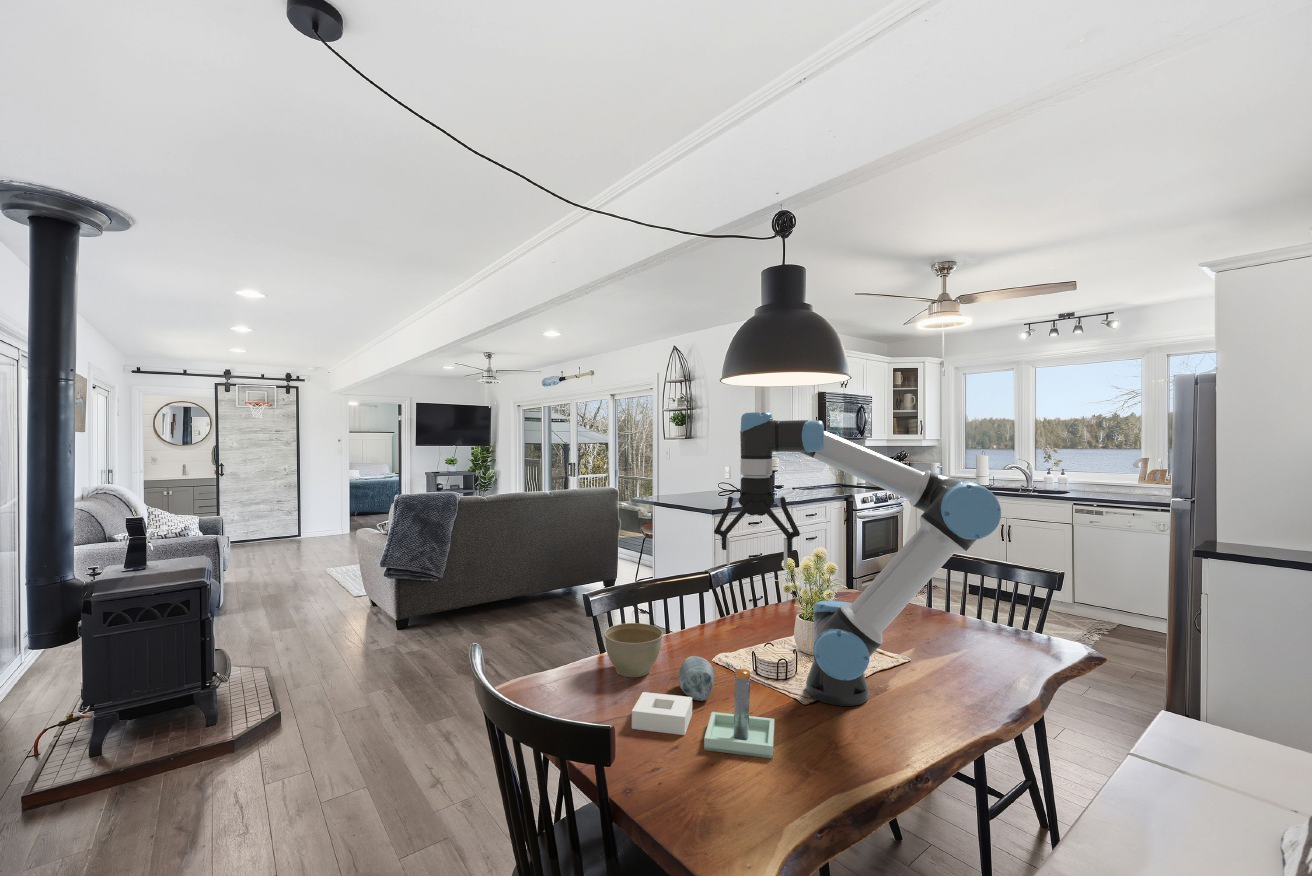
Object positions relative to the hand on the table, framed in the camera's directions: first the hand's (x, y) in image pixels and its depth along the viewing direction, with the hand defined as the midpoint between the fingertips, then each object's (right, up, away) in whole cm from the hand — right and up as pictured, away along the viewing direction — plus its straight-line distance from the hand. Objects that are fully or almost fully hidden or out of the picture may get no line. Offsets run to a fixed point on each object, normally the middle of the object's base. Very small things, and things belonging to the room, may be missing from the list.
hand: (756, 564), depth 143 cm
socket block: (-23, -34, -7) cm, 42 cm away
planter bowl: (-31, -34, +21) cm, 51 cm away
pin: (-6, -34, -15) cm, 37 cm away
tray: (-6, -34, -15) cm, 38 cm away
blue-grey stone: (-14, -35, +8) cm, 38 cm away
